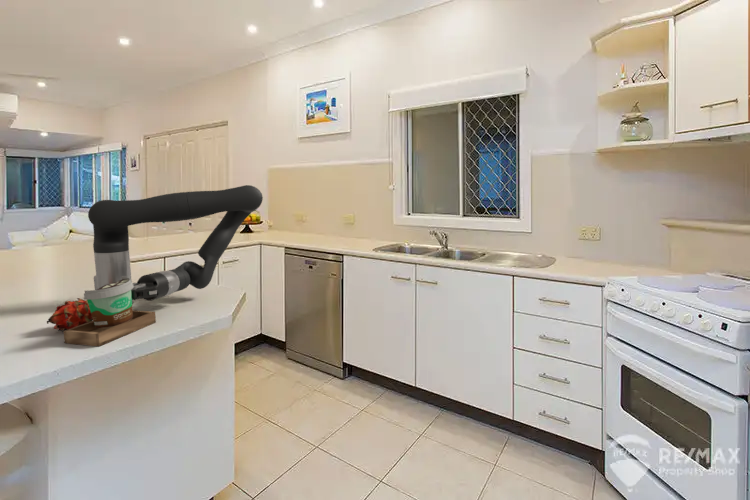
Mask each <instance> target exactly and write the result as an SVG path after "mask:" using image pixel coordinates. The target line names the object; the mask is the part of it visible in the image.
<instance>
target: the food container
mask: <svg viewBox="0 0 750 500" xmlns="http://www.w3.org/2000/svg"><path fill="white" fill-rule="evenodd" d="M131 280H132V279H131ZM131 280H130V278H128V277H122V280H120V281H118V282H115V283H112V284H107V285H104V286H102V287H101V288H99V289H97V290H95V289H93V290H84V293H83V300H87V302H88V305H89V308H90V311H91V315H92V318H93V320H92V321H94V324H95V327H96V328H105V327H112V326H116V325H120V324H122V323H125V322H127V321H129V320H131V319H132V318H133V303H132V296H131V289H133V287H134V285H133V283H134V282H133V281H131Z"/></svg>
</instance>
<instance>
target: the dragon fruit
mask: <svg viewBox="0 0 750 500" xmlns="http://www.w3.org/2000/svg"><path fill="white" fill-rule="evenodd" d="M76 299H77V300H75V301H74V300H73V301H71V300H66V301H64V304H62V305H58V306H57V307H56V309H55V311H54V312H52V314H51V316H50V317H48V319H47V321H46V324H49V323H50V324H52V325H54V326H53V330H58V332H59V331H60V332H61V331H65V330H68V329H71V328H74V327H76V326H79V325H82V324H85V323H88V322H91V321H93V318H92V315H91V311H90V308H89V305H88V302H87V299H82V298H80V297H79V298H76Z"/></svg>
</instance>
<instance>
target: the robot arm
mask: <svg viewBox="0 0 750 500" xmlns="http://www.w3.org/2000/svg"><path fill="white" fill-rule="evenodd" d="M263 198H264V197H263V193H262V192H261V190H260V189H259V188H258V187H256V186H253V185H241V186H236V187H230V188H227V189H220V190H199V191H197V190H196V191H193V190H192V191H183V192H182V191H181V192H172V193H166V194H161V195H156V196H151V197H147V198H143V199H142V198H141V199H133V200H132V199H130V200H129V199H128V200H125V199H124V200H113V199H103V200H99V201H96V202H95V203H93V204H92V205H91V206H90V208H89V210H88V213H87V214H88V215H87V216H88V220H89V222H90V223H91V224H92V226H93V227H92V228H93V243H92V248H93V256H94V265H95V267H94V268H95V275H94V276H93V284H94V290H97V289H99V288H101V287H102V286H104V285H107V284H112V283H115V282H118V281H120V280H122V277H128V278H130V280H131V281H132V271H131V258H130V257H131V256H130V246H129V244H130V243H129V240H130V239H129V237H130V235H129V226H133V225H138V224H145V223H146V224H147V223H171V222H173V223H174V222H182V221H190V220H195V219H200V218H204V217H209V216H213V215H216V214H218V213H223V212H226V213H225V214H224V216H223V217H222V219H221V220H220V221H219V223H218V224H217V225H216V226H215V228H214V229H213V230H212V231H211V233H210V234H209V236H208V237H207V238H206V239H205V240H204V243H203V244H202V245H201V246H200V248H199V249H198V251H197V252H198V253H197V254H198V256H199V257H200V258H201V259H202V260H203V263H204V264H203V266H202V265H200V264H198V263H196V262H194V261H190V260H188V261H184V262H183V263H182V264H180V265H179V266H177V267H176V268H173V269H168V270H162V271H161V270H160V271H156V272H152V273H147V274H144V275H142V276H141V277H139V278H138V280H137V282H133V281H132V283H133V285H134V287H133V289H131V296H132V304H133V303H134V301H136V300H141V299H143V300H145V301H155V300H157V299H160V298H164V297H166V296H170V295H171V294H172V295H173V293H177V292H180V291H183V290H185V289H187V288H188V287H189V286H192V287H193V288H195V289H198V290H203V289H204V288H205V289H206V287H207V286H209V284H210V283H211V280H212V279H213V276H214V273H215V270H216V267H217V264H218V263H219V262H218V261H219V260H220V258H221V257H222V256H223V254H224V253H225V251H226V250H227V248H228V247H229V246H230V244H231V242H232V241H233V238H234V236H235V234H236V232H237V231H238V229H239V228H240V226H241V225H242V223H243V222H244V221H245V220H246V219H247V218H248V217H249V216H250V215H251V213H253V212H255V211H256V210H258V209H259V208H260V207H261V205H262V203H263V200H264V199H263Z"/></svg>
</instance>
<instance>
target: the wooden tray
mask: <svg viewBox="0 0 750 500" xmlns="http://www.w3.org/2000/svg"><path fill="white" fill-rule="evenodd" d="M132 310H133V309H132ZM156 321H157V320H156V311H150V310H149V311H146V310H135V309H134V310H133V318H132V319H131V320H129V321H127V322H125V323H122V324H120V325H116V326H112V327H105V328H96V327H95V324H94V321H93V320H92V321H91V322H88V323H85V324H82V325H79V326H76V327H74V328H71V329H68V330H62V331H63V342H64V344H69V345H80V346H92V347H102V346H104V345H107V344H109V343H111V342H114V341H115V340H118V339H120V338H123V337H125V336H128V335H130V334H133V333H135V332H138V331H139V330H141V329H144V328H146V327H148V326H150V325H151V326H152V325H153V324H156V323H157V322H156Z"/></svg>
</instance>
